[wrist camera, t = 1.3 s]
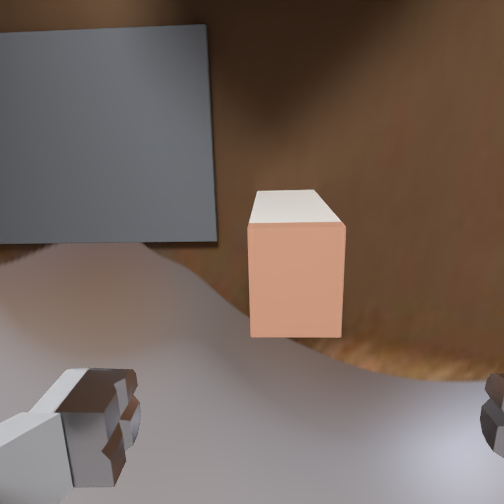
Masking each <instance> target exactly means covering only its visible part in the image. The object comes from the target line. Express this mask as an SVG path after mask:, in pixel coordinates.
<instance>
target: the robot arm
mask: <svg viewBox="0 0 504 504" xmlns="http://www.w3.org/2000/svg"><path fill="white" fill-rule="evenodd" d="M137 386H138V384H137V378H136V373H135V372H134V370H132V369H102V368H101V369H100V368H92V369H91V368H70V369H67V370H66V371H65V372H64V373H63V374H62V375H61V376H60V377H59V379H58V380H57V381H56V382H55V383H54V384H53V385H52V386H51V387H50V388H49V390H48V391H47V392H46V393H45V394H44V395H43V396H42V397H41V399H40V400H39V401H38V402H37V403H36V404H35V405H34V406H33V407H32V409H31V410H30V411H29V412H28V413H25V412H21V413H19V414H17V415H15V416H13V417H11V418H9V419H7V420H5V421H3V422H1V423H0V504H58V503H59V502H60V501H61V500H63V499H64V498H65V497H66V496H67V495H68V494H69V493H71V492H72V491H73V489H74V488H73V487H114V486H115V484H116V482H117V480H118V478H119V476H120V473H121V471H122V468H123V467H124V464H125V462H126V457H125V451H126V450H127V449H128V448H130V447H131V446H132V445H133V444H134V442H135V439H136V437H137V434H138V429H139V425H140V402H139V401H138V400H137V399H136V397H134V395H133V394H134V392H135V390H136V388H137ZM485 390H486V392H487V394H488V395H489V397H490V399H489V400H488V401H487V402H486V403H485V404H484V405H483V406H482V409H481V416H480V422H481V428H482V433H483V435H484V437H485V439H486V442H487V443H488V445H489V446H490V447H491V449H492V450H493V451H494V452H495V453H497V454H498V455H500V456H502V457H503V458H504V373H501V374H490V375H489V377H488V378H487V381H486V386H485Z"/></svg>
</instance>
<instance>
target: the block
mask: <svg viewBox="0 0 504 504" xmlns="http://www.w3.org/2000/svg"><path fill="white" fill-rule="evenodd" d="M345 237H346V226H345V225H344V224H343V223H342V222H341V221H340V219H339V218H338V217H337V216H336V215H335V214H334V212H333V211H332V210H331V209H330V208H329V207H328V206H327V204H326V203H325V202H324V201H323V200H322V199H321V198H320V196H319V195H318V194H317V193H316V192H315V191H314V190H282V191H257V194H256V198H255V202H254V206H253V209H252V213H251V217H250V221H249V224H248V262H249V296H250V331H251V337H341V326H342V304H343V282H344V259H345Z"/></svg>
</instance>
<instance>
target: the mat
mask: <svg viewBox="0 0 504 504" xmlns="http://www.w3.org/2000/svg"><path fill="white" fill-rule="evenodd" d="M217 240H218V231H217V211H216V192H215V173H214V154H213V134H212V115H211V96H210V77H209V57H208V38H207V26H206V24H198V25H175V26H152V27H128V28H105V29H81V30H58V31H34V32H11V33H0V244H34V243H108V242H110V243H114V242H195V241H217Z"/></svg>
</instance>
